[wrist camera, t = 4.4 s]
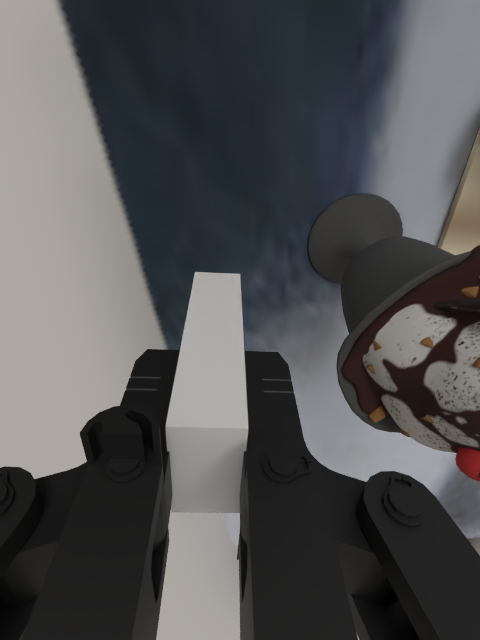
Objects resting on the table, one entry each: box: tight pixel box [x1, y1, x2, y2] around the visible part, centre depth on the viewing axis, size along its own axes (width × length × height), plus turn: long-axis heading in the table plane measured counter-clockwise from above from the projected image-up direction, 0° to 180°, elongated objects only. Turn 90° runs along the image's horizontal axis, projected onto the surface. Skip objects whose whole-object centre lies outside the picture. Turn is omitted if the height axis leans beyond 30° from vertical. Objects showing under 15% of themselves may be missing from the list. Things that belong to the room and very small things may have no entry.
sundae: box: [308, 194, 480, 481], centre depth 13 cm, size 7×7×15 cm
